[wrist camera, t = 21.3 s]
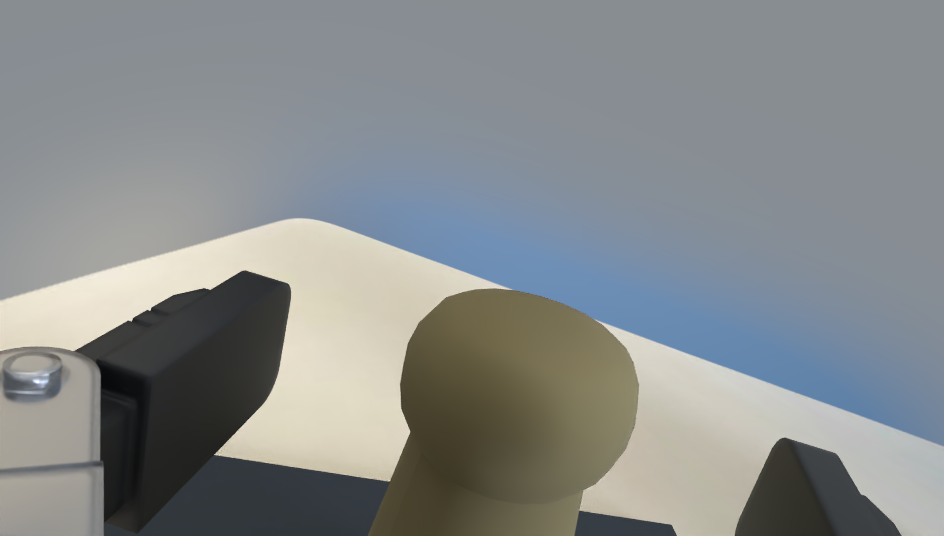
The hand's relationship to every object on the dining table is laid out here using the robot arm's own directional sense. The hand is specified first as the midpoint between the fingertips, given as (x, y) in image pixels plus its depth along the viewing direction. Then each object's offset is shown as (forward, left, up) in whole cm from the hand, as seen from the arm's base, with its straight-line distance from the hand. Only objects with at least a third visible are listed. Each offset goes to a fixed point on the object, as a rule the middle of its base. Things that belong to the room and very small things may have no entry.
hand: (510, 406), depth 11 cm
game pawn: (+1, +4, -11) cm, 12 cm away
